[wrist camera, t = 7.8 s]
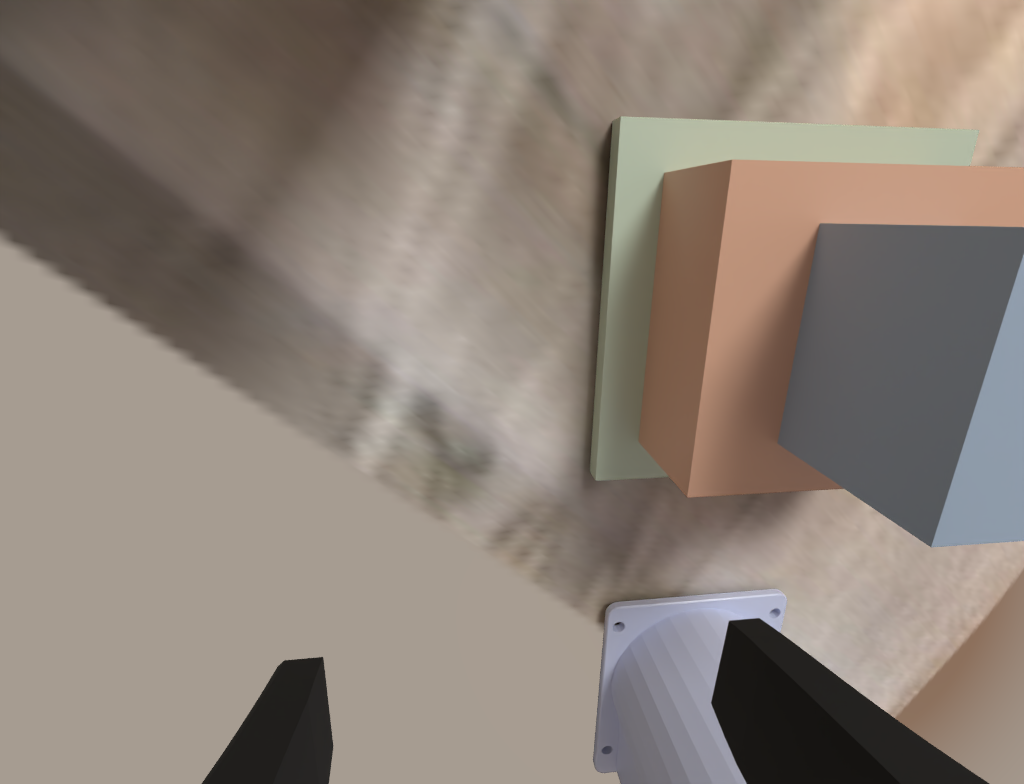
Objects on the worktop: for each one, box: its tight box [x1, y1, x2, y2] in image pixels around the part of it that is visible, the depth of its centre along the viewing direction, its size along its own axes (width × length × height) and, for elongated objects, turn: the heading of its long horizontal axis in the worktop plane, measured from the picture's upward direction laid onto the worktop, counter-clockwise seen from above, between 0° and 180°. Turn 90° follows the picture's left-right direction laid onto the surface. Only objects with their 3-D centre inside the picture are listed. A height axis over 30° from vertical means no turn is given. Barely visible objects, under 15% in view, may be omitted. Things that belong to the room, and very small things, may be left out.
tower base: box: [590, 117, 1024, 498], centre depth 17 cm, size 12×12×5 cm
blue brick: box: [777, 223, 1024, 547], centre depth 12 cm, size 6×4×5 cm, turn 179°
